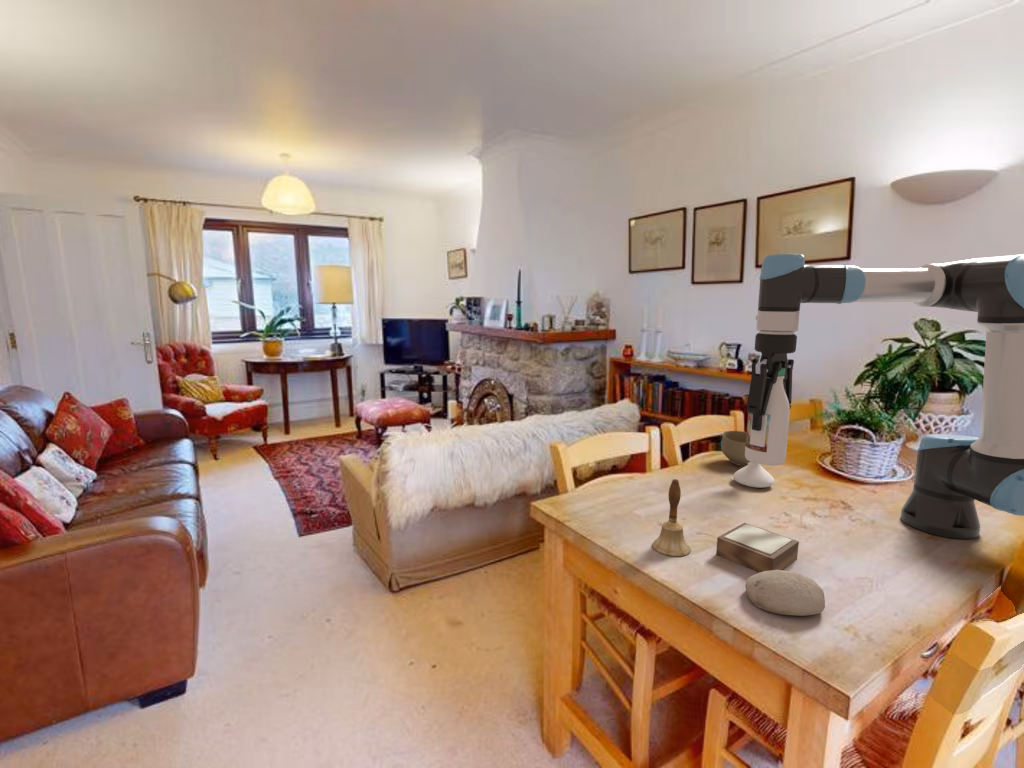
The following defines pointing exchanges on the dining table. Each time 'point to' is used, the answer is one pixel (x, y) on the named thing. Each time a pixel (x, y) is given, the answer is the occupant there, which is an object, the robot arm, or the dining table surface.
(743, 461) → the bowl
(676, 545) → the hand bell
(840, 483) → the dining table surface
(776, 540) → the plinth
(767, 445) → the milk bottle
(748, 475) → the flower in vase
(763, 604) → the stone
